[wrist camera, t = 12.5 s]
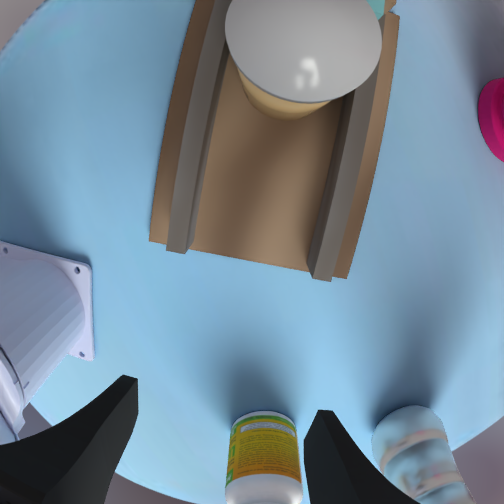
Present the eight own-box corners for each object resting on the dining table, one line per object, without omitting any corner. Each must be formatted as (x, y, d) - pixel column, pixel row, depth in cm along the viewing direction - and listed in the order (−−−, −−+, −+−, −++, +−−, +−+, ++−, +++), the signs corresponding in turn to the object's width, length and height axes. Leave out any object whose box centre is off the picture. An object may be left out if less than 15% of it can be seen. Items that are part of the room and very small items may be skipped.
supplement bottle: (224, 411, 23) (211, 516, 14) (293, 404, 23) (304, 510, 14) (237, 451, 25) (231, 543, 16) (298, 444, 24) (308, 538, 15)
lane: (151, 238, 19) (124, 262, 15) (205, -23, 14) (193, -60, 10) (344, 275, 20) (365, 308, 15) (396, 19, 15) (427, -7, 10)
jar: (231, 113, 16) (210, 84, 9) (248, 32, 15) (241, -42, 7) (322, 131, 17) (371, 117, 9) (337, 50, 15) (387, -9, 7)
